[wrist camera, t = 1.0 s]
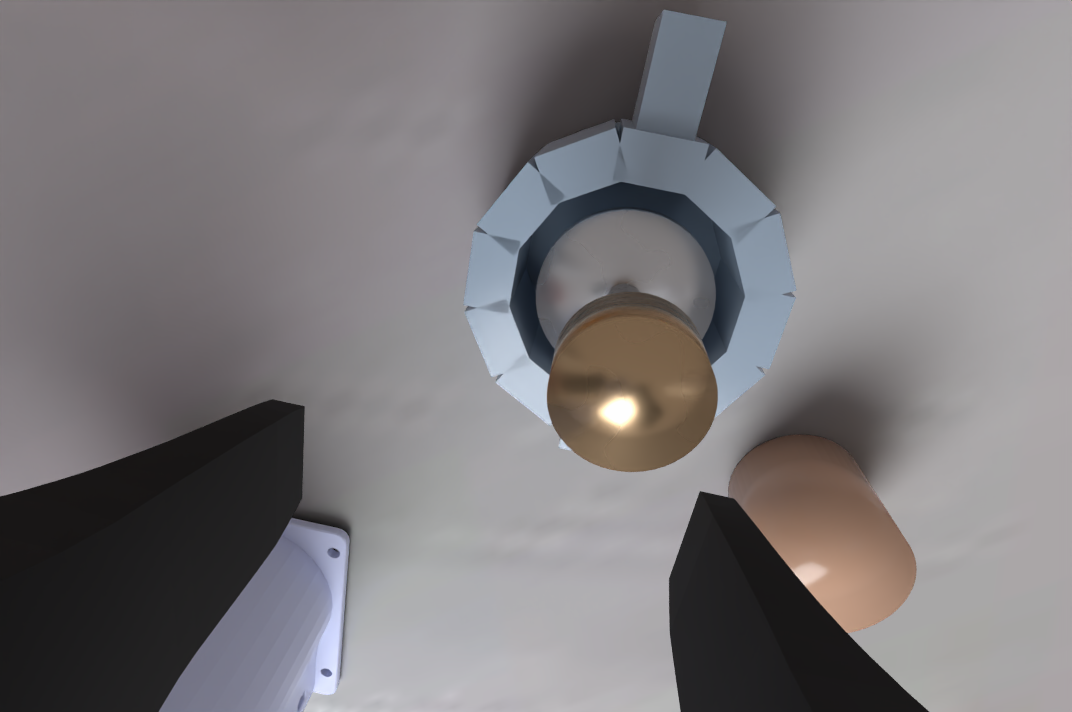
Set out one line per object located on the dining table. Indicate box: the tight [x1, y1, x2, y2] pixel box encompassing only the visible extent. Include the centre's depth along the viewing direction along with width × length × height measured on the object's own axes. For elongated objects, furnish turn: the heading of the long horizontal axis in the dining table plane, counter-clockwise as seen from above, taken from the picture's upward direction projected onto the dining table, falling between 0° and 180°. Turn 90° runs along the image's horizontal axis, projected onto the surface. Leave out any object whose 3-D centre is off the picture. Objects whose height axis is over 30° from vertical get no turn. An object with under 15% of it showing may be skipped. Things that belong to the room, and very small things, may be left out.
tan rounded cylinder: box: [728, 434, 916, 633], centre depth 21 cm, size 5×5×4 cm
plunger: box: [536, 207, 718, 472], centre depth 14 cm, size 5×5×6 cm
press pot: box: [464, 10, 796, 451], centre depth 18 cm, size 11×8×4 cm
